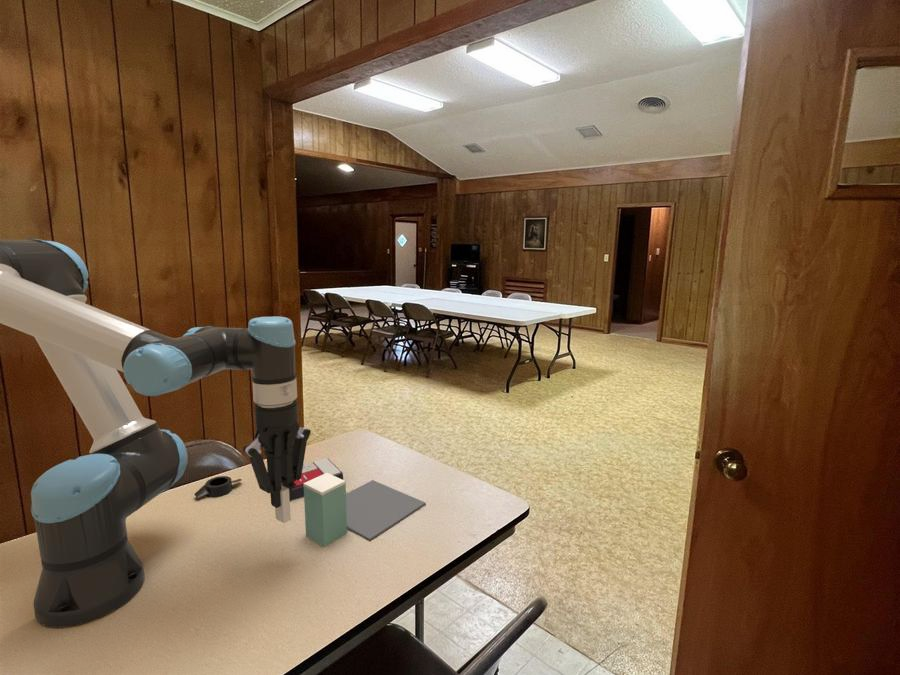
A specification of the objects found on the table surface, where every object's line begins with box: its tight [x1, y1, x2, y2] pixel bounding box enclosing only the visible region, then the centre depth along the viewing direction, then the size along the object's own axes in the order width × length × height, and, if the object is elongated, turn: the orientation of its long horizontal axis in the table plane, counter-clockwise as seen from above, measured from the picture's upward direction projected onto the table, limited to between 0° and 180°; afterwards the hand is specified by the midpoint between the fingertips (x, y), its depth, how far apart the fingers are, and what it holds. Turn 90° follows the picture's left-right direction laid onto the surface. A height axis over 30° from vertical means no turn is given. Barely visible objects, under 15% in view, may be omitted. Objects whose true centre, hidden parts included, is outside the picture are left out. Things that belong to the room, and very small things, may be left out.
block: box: [303, 473, 348, 548], centre depth 98 cm, size 6×6×12 cm
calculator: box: [281, 457, 344, 501], centre depth 119 cm, size 11×4×15 cm
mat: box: [346, 479, 427, 542], centre depth 109 cm, size 18×18×1 cm
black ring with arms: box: [194, 475, 243, 499], centre depth 116 cm, size 8×10×3 cm
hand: (283, 519), depth 89 cm, fingers closed
